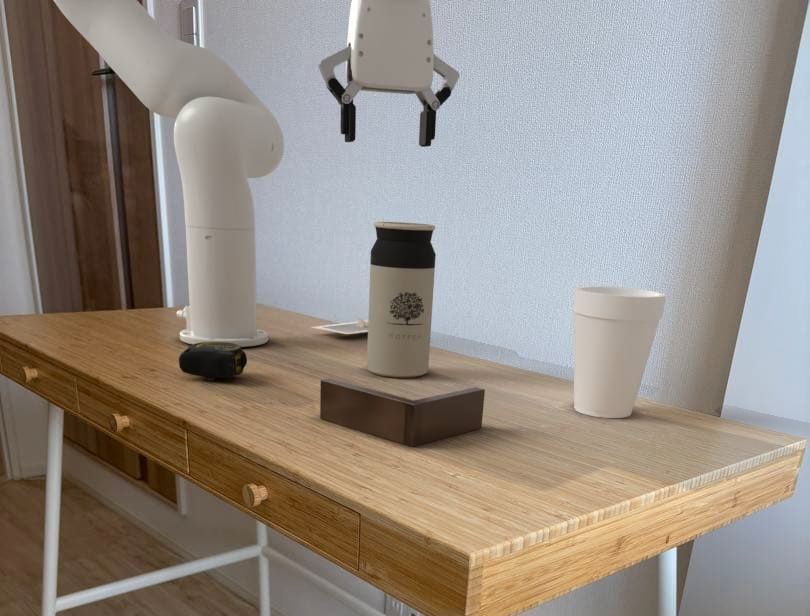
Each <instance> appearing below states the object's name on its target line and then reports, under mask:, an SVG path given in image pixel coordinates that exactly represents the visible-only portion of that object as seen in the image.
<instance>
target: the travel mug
mask: <svg viewBox="0 0 810 616" xmlns="http://www.w3.org/2000/svg"><path fill="white" fill-rule="evenodd" d="M373 227H375V232H376V240H375V242H374V244H373V246H372V248H371V249H370V264H369V265H370V266H369V289H368V290H369V291H368V292H369V295H368V317H367V320H368V332H367V347H366V349H367V351H366V352H367V353H366V369H367V370H368V371H369V372H371V373H372V374H375V375H377V376H380V377H386V378H399V379H409V378H417V377H418V378H419V377H421V376H423V375H425V374H427V373H428V372H429V365H430V352H431V351H430V349H431V334H432V320H433V319H432V317H433V303H434V287H435V272H436V252H435V249H434V246H433V244H432V238H433V234H434V231H435V230H436V226H435V225H434V224H428V223H419V222H418V223H417V222H403V221H375V222H373Z"/></svg>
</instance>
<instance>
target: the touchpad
mask: <svg viewBox="0 0 810 616" xmlns="http://www.w3.org/2000/svg"><path fill="white" fill-rule="evenodd" d="M311 329H317V330H322V331H327V332H331V333H338V334H341V335H353V334H354V335H355V334H360V335H361V334H363V333H368V319H365V320H364V319H358V321H350V322H341V323H333V324H324V325H317V326H311Z"/></svg>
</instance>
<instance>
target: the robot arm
mask: <svg viewBox="0 0 810 616" xmlns="http://www.w3.org/2000/svg"><path fill="white" fill-rule="evenodd" d="M53 2H54V3H55V5H56V6H57V8H58V9H59V10H60V12H61V13H62V14H63V16H64V17H65V18H66V19H67V20H68V21H69V24H71V26H72V27H74V28H75V29H76V30H77V32H79V33H80V35H81V36H82V37H83V38H84V39H85V40H86V41H87V42H88V43H89V44H90V46H92V48H94V50H95V51H96V52H97V53H98V54H99V55H100V56H101V58H102V59H103V60H104V61H105V63H106V64H107V65H108V66H109V67H110V69H111V70H112V71H113V72H114V73H115V74H116V75H117V76H118V77H119V78H120V80H121V81H122V82H123V83H124V84H125V85H126V86H127V87H128V88H129V90H131V92H132V93H133V94H134V95H135V96H136V98H137V99H138V100H139V101H140V102H141V103H142V105H144V106H145V107H146V108H147V109H148V110H149V111H150V112H152V113H154V114H157V115H159V116H162V117H165V118H171V119H175V120H174V121H175V122H174V126H173V144H174V145H173V146H174V151H175V157H176V160H177V165H178V170H179V174H180V179H181V187H182V195H183V208H184V209H183V210H184V224H185V226H184V227H185V243H186V244H185V245H186V263H187V278H188V279H187V282H188V283H187V284H188V286H187V287H188V300H189V301H188V303H189V305H185V306H184V307H183V310H182V309H179V310H177V312H176V318H177V319H178V320H181V321H186V328H184V329H182V330H181V331H180V332H179V340H180V341H181V342H183V343H186V344H188V345H193V344H196V343H201V342H228V343H234V344H238V345H240V346H241V347H242V348H249V347H256V346H261V345H264V344H266V343H268V342H269V333H268V332H267V331H264V330H262V329H258V308H257V307H258V303H257V302H258V301H257V254H256V253H257V252H256V250H257V247H256V242H257V241H256V211H255V204H254V198H253V194H252V189H251V186H250V182H249V179H258V178H262V177H266V176H268V175H270V174H272V173H273V172H274V171H275V170H276V169H277V168H279V165H280V164H281V162H282V160H283V157H284V153H285V140H284V139H285V138H284V134H283V130H282V128H281V126H280V124H279V121H278V120H277V119H276V117H275V115H274V114H273V113H272V112H271V110H270V109H269V108H268V107H267V106H266V105H265V103H264V102H263V101H262V100H261V98H259V97H258V95H257V94H256V93H255V92H254V91H253V90H252V88H250V87H249V86H248V84H247V83H245V81H244V80H243V79H242V78H241V77H240V76H239V74H238V73H237V72H236V71H235V70H234V69H233V68H232V67H231V66H230V65H229V64H228V63H227V62H226V61H225V60H224V59H223V58H222V57H220V56H219V55H218V54H216V53H215V52H213V51H211V50H209V49H207V48H206V47H205V48H204V47H202V46H199V45H195V44H192V43H189V42H186V41H183V40H180V39H178V38H176V37H174V36H172V35H171V34H170V33H169V32H167V31H166V30H165V29H164V28H163V27H162V26H161V25H160V24H159V23H158V21H156V20H155V19H154V18H153V17H152V16H151V14H150V13H149V12H148V11H147V9H146V8H145V7H144V6H143V5H142V3H140V2H139V1H138V0H53ZM348 20H349V21H348V27H347V40H346V47H345V48H343V49H341V50H339V51H337V52H335V53H333V54H331V55H330V56H327V57H325V58H323V59H322V60H320V61H319V62H318V65H317V66H318V69H319V71H320V74H321V76H322V79H323V81H324V83H325V86H326V89H327V91H329V92H330V93H331V95H332V97H334V98H335V100H336V101H337V103H338V105H340V134H341V135H344V142H345V143H352V142H355V141H356V129H357V128H356V127H357V124H356V123H357V106H356V104H355V103H354V98H356V96H357V95H358V93H360V91H363V92H372V93H373V92H374V93H385V94H386V93H387V94H400V95H415V96H416V97H417V99H418V100H419V102H420V103H421V106H422V109H423V110H422V111H421V112H420V113H419V130H418V131H419V132H418V146H419V147H421V148H425V147H426V148H427V147H431V146H432V141H434V140H435V138H436V128H437V127H436V126H437V125H436V124H437V111H438V110H439V109H440V108H441V107H442V105H443V104H444V103H445V102H446V101H447V100H448V99H449V97H450V96H451V95H452V92H453V90H454V88H455V86H456V84H457V82H458V81H459V79H460V73H459V71H458V70H456V69H455V68H453V67H452V66H451V65H449V64H448V63H446V62H445V61H444V60H443V59H441V58H440V57H438V55H436V54H434V51H435V50H434V29H433V28H434V27H433V15H432V8H431V0H351V3H350V10H349V18H348ZM343 63H345V82H346V84H347V85H346V87H344V86H343V85H342V84H341V83H340V81H339V80H338V79H337V76H336V74H335V71H334V70H335V67H338V66H339V65H341V64H343ZM434 73H437V75H439V76H440V77H442V79H443V82H442V83H441V87H440V88H439V89H438V90H437V91H436V92H434V91H433V88H431V86H432V84H433V80H434Z"/></svg>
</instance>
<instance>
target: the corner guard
mask: <svg viewBox="0 0 810 616" xmlns="http://www.w3.org/2000/svg"><path fill="white" fill-rule="evenodd" d="M485 391H486V389H485V388H482V387H477V386H475V387H471V388H470V387H469V388H466V389H462V390H457V391H452V392H446V393H443V394H438V395H433V396H427V397H424V398H419V399H414V400H413V399H410V398H405V397H403V396H398V395H395V394H391V393H386V392H383V391H379V390H375V389H372V388H367V387H363V386H361V385H356V384H352V383H349V382H344V381H341V380H337V379H333V378H330V377H328V378H322V379H320V396H319V397H320V399H319V400H320V405H319V406H320V407H319V419H320V420H324V421H327V422H330V423H333V424H337V425H340V426H342V427H346V428H350V429H353V430H355V431H356V430H357V431H360V432H363V433H366V434H369V435H373V436H374V437H375V436H376V437H379V438H382V439H386V440H389V441H392V442H395V443H399V444H402V445H405V446H409V447H411V448H413V447H417V446H421V445H424V444H428V443H432V442H437V441H439V440H443V439H446V438H451V437H454V436H458V435H461V434H465V433H469V432H473V431H477V430H480V429H482V428H483V427H482V426H483V418H484V417H483V415H484V407H485V406H484V405H485V393H486V392H485Z"/></svg>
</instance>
